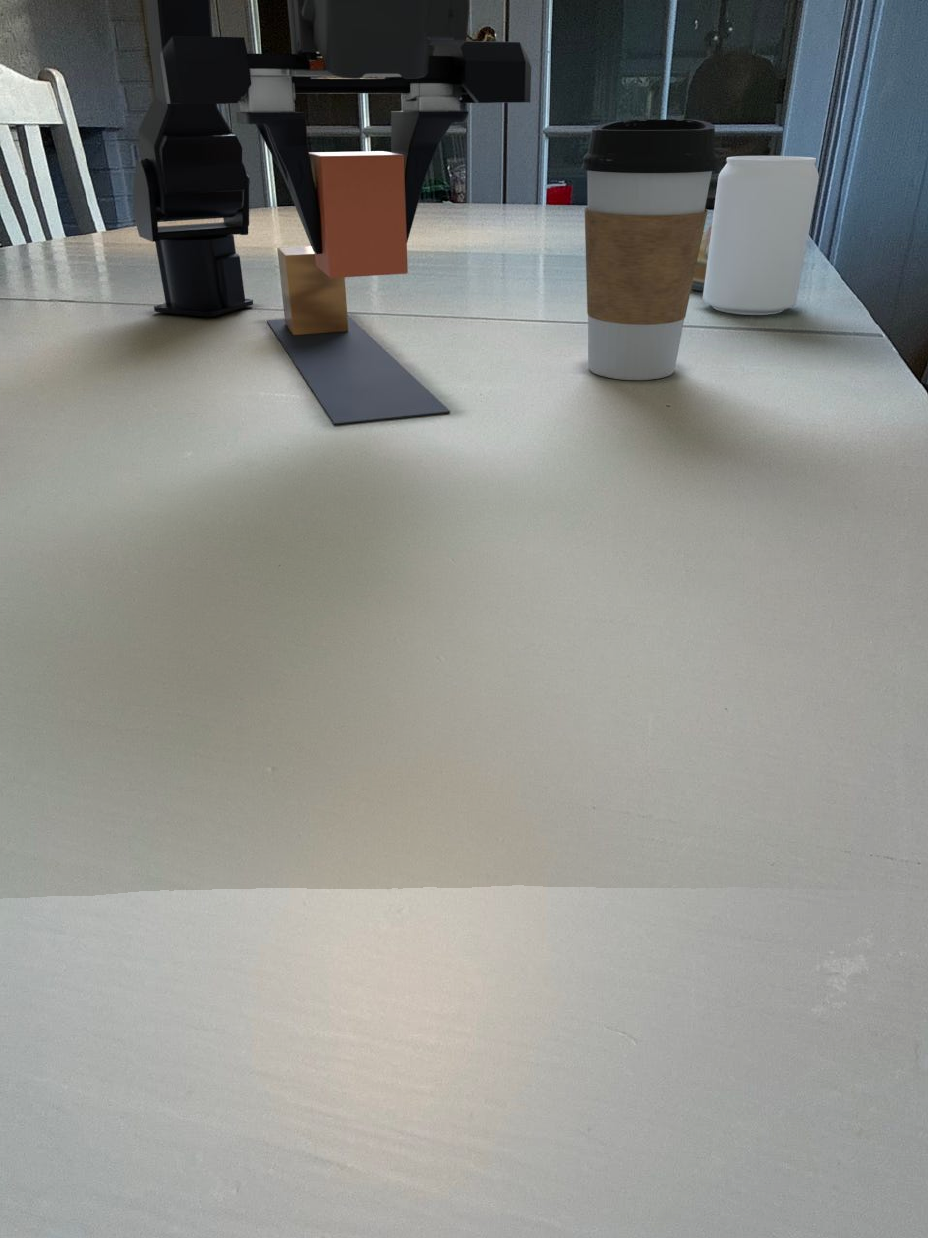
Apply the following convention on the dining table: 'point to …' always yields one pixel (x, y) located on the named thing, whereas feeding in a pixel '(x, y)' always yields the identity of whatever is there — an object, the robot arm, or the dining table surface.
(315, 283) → the wood block
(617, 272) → the coffee cup
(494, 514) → the dining table surface
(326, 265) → the terracotta block
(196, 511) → the dining table surface
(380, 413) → the line strip
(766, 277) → the beverage can
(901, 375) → the dining table surface
